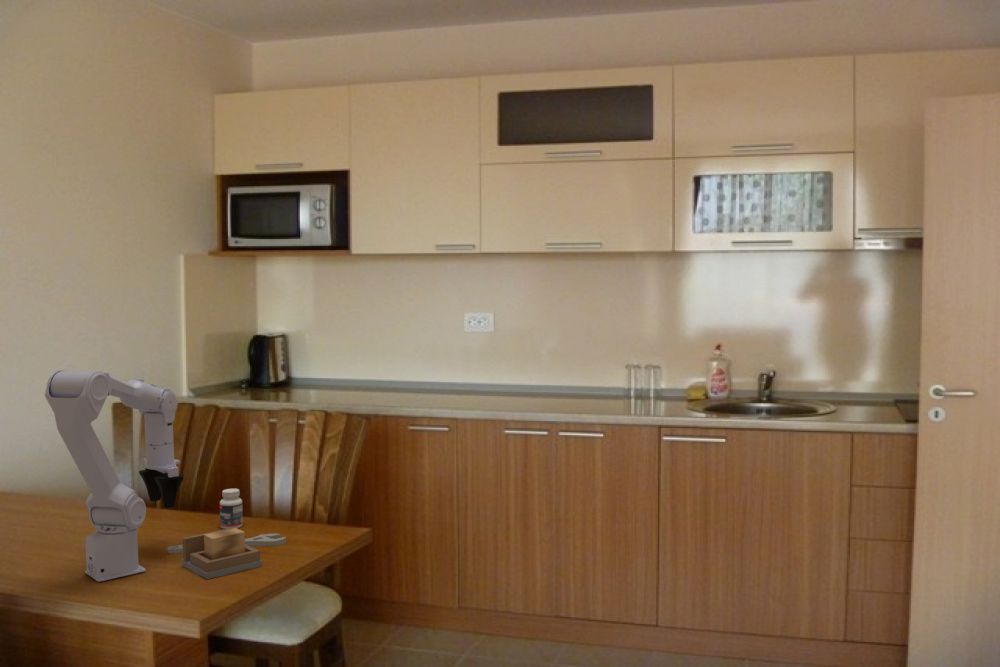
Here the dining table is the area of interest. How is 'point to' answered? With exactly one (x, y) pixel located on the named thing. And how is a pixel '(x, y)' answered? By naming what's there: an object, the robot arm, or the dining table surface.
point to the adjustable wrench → (246, 542)
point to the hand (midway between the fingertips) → (162, 504)
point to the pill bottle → (231, 509)
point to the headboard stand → (216, 567)
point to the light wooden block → (224, 543)
